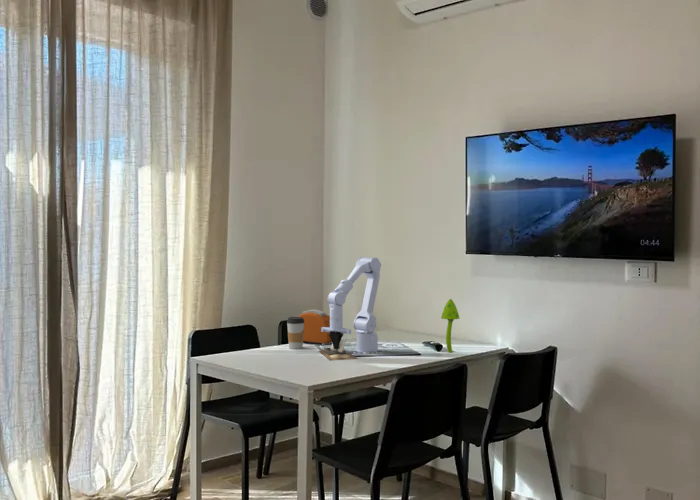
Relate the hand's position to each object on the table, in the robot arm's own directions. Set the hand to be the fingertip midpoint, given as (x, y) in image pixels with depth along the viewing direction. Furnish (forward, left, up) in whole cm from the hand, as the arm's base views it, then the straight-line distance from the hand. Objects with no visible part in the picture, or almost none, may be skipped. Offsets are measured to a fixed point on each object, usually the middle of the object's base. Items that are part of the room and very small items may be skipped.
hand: (336, 348), depth 314 cm
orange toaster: (+2, -37, -4) cm, 38 cm away
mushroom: (-54, +4, -4) cm, 54 cm away
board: (-1, 0, -3) cm, 3 cm away
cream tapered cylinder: (-1, -3, -2) cm, 4 cm away
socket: (-1, -5, -3) cm, 6 cm away
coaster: (-1, +5, -3) cm, 5 cm away
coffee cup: (+14, -22, -4) cm, 27 cm away
